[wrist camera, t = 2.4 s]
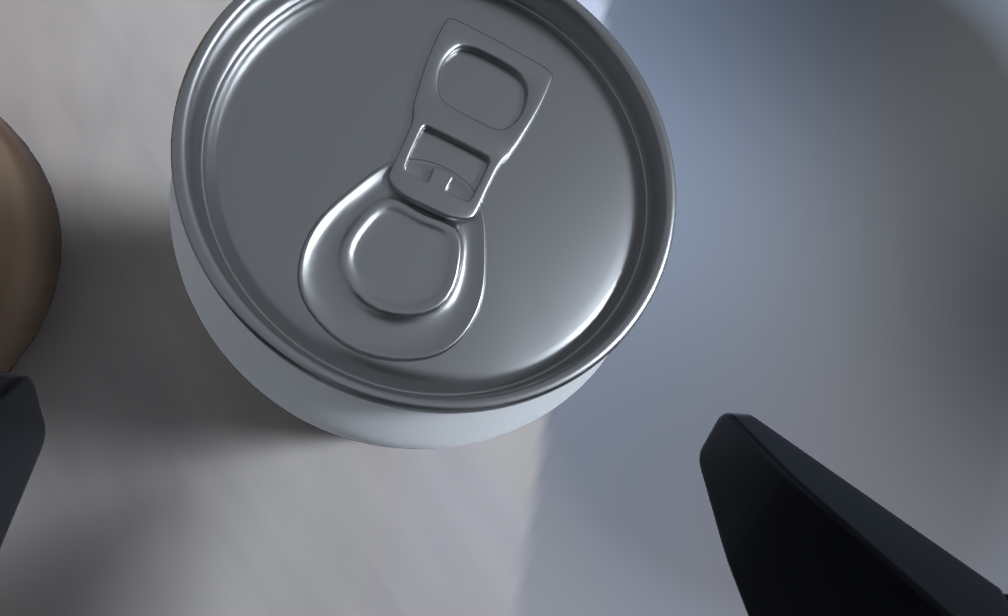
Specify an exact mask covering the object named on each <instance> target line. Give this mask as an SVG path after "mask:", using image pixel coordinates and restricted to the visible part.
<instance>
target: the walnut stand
mask: <svg viewBox="0 0 1008 616" xmlns="http://www.w3.org/2000/svg"><path fill="white" fill-rule="evenodd" d="M60 262H61V230H60V222H59V214H58V209H57V206H56V203H55V199H54V196H53V193H52V189H51V187H50V184H49V182H48V180H47V178H46V176H45V174H44V172H43V170H42V168H41V166H40V164H39V163H38V161H37V160H36V158H35V157H34V155H33V154H32V152H31V151H30V149H29V148H28V146H27V145H26V144H25V142H24V141H23V140H22V139H21V138H20V137H19V136H18V135H17V134H16V133H15V132H14V130H13V129H12V128H11V127H10V126H9V125H8V124H7V123H6V122H5V121H4V120H3V119H2V118H1V117H0V372H3V373H8V371H9V370H10V369H11V368H12V367H13V366H14V365H15V364H16V363H17V361H18V360H19V358H20V357H21V355H22V354H23V353H24V351H25V350H26V348H27V347H28V345H29V344H30V343H31V341H32V340H33V338H34V336H35V334H36V333H37V331H38V329H39V327H40V325H41V323H42V321H43V319H44V317H45V315H46V313H47V311H48V308H49V305H50V302H51V299H52V296H53V294H54V291H55V288H56V283H57V278H58V273H59V267H60Z"/></svg>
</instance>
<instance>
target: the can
mask: <svg viewBox="0 0 1008 616" xmlns="http://www.w3.org/2000/svg"><path fill="white" fill-rule="evenodd" d="M171 168H172V179H171V187H170V225H171V234H172V241H173V247H174V251H175V256H176V260H177V264H178V267H179V271H180V274H181V277H182V280H183V283H184V285H185V288H186V290H187V293H188V295H189V297H190V299H191V302H192V304H193V306H194V308H195V310H196V312H197V314H198V315H199V317H200V319H201V321H202V323H203V325H204V326H205V328H206V330H207V331H208V333H209V334H210V336H211V337H212V339H213V340H214V342H215V343H216V345H217V346H218V347H219V349H220V350H221V351H222V353H223V354H224V355H225V356H226V357H227V359H228V360H229V361H230V362H231V363H232V365H233V366H234V367H235V368H236V369H237V370H238V371H239V372H240V373H241V374H242V375H243V376H244V377H245V378H246V379H247V380H248V381H249V382H250V383H251V384H253V385H254V386H255V387H256V388H257V389H258V390H260V391H261V392H262V393H263V394H264V395H266V396H267V397H268V398H269V399H271V400H272V401H273V402H275V403H276V404H278V405H279V406H280V407H282V408H283V409H285V410H286V411H288V412H290V413H291V414H293V415H294V416H296V417H298V418H300V419H302V420H303V421H305V422H307V423H309V424H311V425H313V426H315V427H317V428H320V429H322V430H325V431H327V432H329V433H332V434H335V435H338V436H340V437H344V438H347V439H350V440H354V441H358V442H362V443H366V444H371V445H377V446H383V447H392V448H405V449H435V448H447V447H455V446H461V445H467V444H471V443H476V442H480V441H484V440H487V439H490V438H493V437H497V436H499V435H502V434H505V433H507V432H510V431H512V430H515V429H517V428H519V427H522V426H524V425H526V424H528V423H530V422H532V421H534V420H536V419H537V418H539V417H541V416H543V415H544V414H546V413H547V412H549V411H551V410H552V409H554V408H555V407H556V406H558V405H559V404H561V403H562V402H563V401H565V400H566V399H567V398H568V397H570V396H571V395H572V394H573V393H574V392H575V391H576V390H577V389H579V388H580V387H581V386H582V385H583V384H584V383H585V382H586V381H587V380H588V379H589V378H590V377H591V376H592V374H593V373H594V372H595V371H596V370H597V369H598V367H599V366H600V365H601V363H602V362H603V361H604V359H605V358H606V357H607V355H608V354H609V353H610V352H611V351H612V350H613V349H615V348H616V347H617V345H618V344H619V343H620V342H621V341H622V340H623V339H624V338H625V337H626V336H627V334H628V333H629V332H630V331H631V330H632V328H633V327H634V326H635V324H636V323H637V322H638V320H639V319H640V317H641V316H642V314H643V313H644V311H645V310H646V308H647V306H648V304H649V303H650V301H651V299H652V297H653V295H654V293H655V291H656V289H657V287H658V285H659V282H660V280H661V277H662V275H663V272H664V269H665V266H666V263H667V260H668V256H669V253H670V248H671V244H672V238H673V233H674V225H675V217H676V182H675V171H674V164H673V158H672V154H671V148H670V144H669V140H668V137H667V133H666V129H665V126H664V124H663V120H662V118H661V115H660V113H659V110H658V108H657V105H656V103H655V101H654V99H653V97H652V94H651V92H650V90H649V88H648V86H647V85H646V83H645V81H644V79H643V77H642V76H641V74H640V72H639V71H638V69H637V68H636V66H635V64H634V63H633V61H632V60H631V59H630V57H629V56H628V54H627V53H626V52H625V50H624V49H623V48H622V46H621V45H620V44H619V43H618V41H617V40H616V39H615V38H614V36H613V35H612V34H611V33H610V32H609V31H608V30H607V29H606V28H605V27H604V25H603V24H602V23H601V22H600V21H599V20H598V19H597V18H596V17H595V16H594V15H592V14H591V13H590V12H589V11H588V10H587V9H586V8H585V7H584V6H582V5H581V4H580V3H579V2H578V1H576V0H233V1H232V2H231V3H230V4H229V5H228V6H227V7H226V9H225V10H224V11H223V12H222V13H221V14H220V15H219V17H218V18H217V19H216V20H215V22H214V23H213V24H212V26H211V27H210V28H209V30H208V31H207V33H206V34H205V36H204V37H203V39H202V41H201V42H200V44H199V45H198V47H197V49H196V51H195V53H194V55H193V57H192V59H191V61H190V63H189V65H188V68H187V70H186V73H185V75H184V78H183V81H182V84H181V87H180V90H179V94H178V97H177V101H176V106H175V111H174V117H173V124H172V135H171Z"/></svg>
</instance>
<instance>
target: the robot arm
mask: <svg viewBox="0 0 1008 616" xmlns="http://www.w3.org/2000/svg"><path fill="white" fill-rule="evenodd" d="M44 439H45V424H44V420H43V416H42V413H41V409H40V405H39V402H38V398H37V394H36V391H35V387H34V384H33V382H32V380H31V379H30V378H29V377H28V376H27V375H24V374H20V373H3V372H0V547H1V545H2V543H3V540H4V538H5V535H6V533H7V531H8V528H9V526H10V523H11V521H12V519H13V516H14V514H15V511H16V509H17V507H18V504H19V502H20V499H21V497H22V494H23V492H24V490H25V487H26V485H27V482H28V480H29V478H30V475H31V473H32V470H33V468H34V466H35V463H36V461H37V458H38V456H39V454H40V451H41V449H42V446H43V443H44ZM700 467H701V471H702V474H703V478H704V481H705V485H706V488H707V492H708V496H709V499H710V503H711V506H712V509H713V513H714V517H715V520H716V524H717V527H718V531H719V534H720V538H721V542H722V545H723V548H724V551H725V554H726V558H727V561H728V563H729V566H730V569H731V572H732V575H733V577H734V580H735V583H736V585H737V587H738V590H739V593H740V595H741V598H742V600H743V603H744V605H745V608H746V611H747V613H748V616H1008V594H1003V593H1002V591H1001V589H1000V588H998V587H997V586H995V585H994V584H992V583H991V582H990V581H988V580H987V579H985V578H984V577H983V576H981V575H980V574H978V573H977V572H975V571H974V570H973V569H971V568H970V567H968V566H967V565H965V564H964V563H962V562H961V561H960V560H958V559H957V558H955V557H954V556H952V555H951V554H950V553H948V552H947V551H945V550H944V549H942V548H941V547H940V546H938V545H937V544H935V543H934V542H932V541H931V540H929V539H928V538H927V537H925V536H924V535H922V534H921V533H919V532H918V531H917V530H915V529H914V528H912V527H911V526H909V525H908V524H906V523H905V522H904V521H902V520H901V519H899V518H898V517H896V516H895V515H894V514H892V513H891V512H889V511H888V510H887V509H885V508H884V507H882V506H881V505H879V504H878V503H877V502H875V501H874V500H872V499H871V498H869V497H868V496H866V495H865V494H864V493H862V492H861V491H859V490H858V489H856V488H855V487H854V486H852V485H851V484H849V483H848V482H846V481H845V480H844V479H842V478H840V477H839V476H838V475H836V474H835V473H833V472H832V471H831V470H829V469H828V468H826V467H825V466H824V465H822V464H821V463H819V462H818V461H816V460H815V459H814V458H812V457H811V456H809V455H808V454H806V453H804V451H802V450H800V449H799V448H798V447H796V446H795V445H793V444H792V443H791V442H789V441H788V440H786V439H785V438H783V437H782V436H781V435H779V434H778V433H776V432H775V431H773V430H772V429H771V428H769V427H768V426H766V425H765V424H763V423H762V422H761V421H759V420H758V419H756V418H755V417H753V416H751V415H748V414H738V413H726V414H723V415H722V416H721V417H719V419H718V420H717V422H716V424H715V426H714V427H713V429H712V431H711V433H710V435H709V436H708V438H707V440H706V442H705V443H704V445H703V447H702V449H701V452H700Z"/></svg>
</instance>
